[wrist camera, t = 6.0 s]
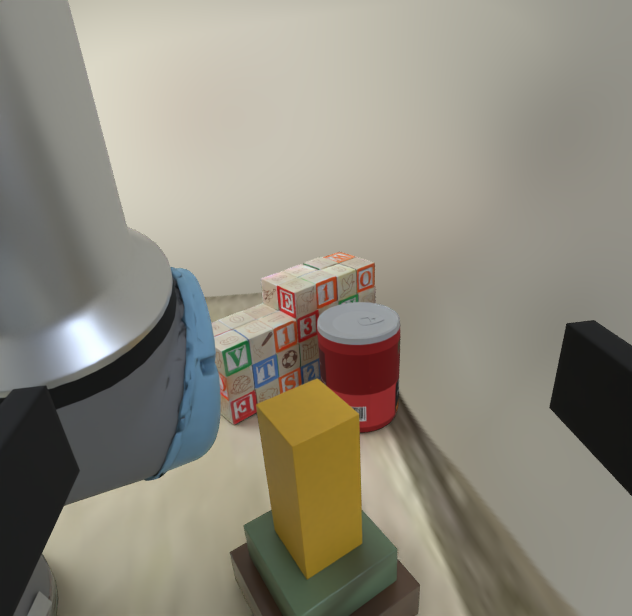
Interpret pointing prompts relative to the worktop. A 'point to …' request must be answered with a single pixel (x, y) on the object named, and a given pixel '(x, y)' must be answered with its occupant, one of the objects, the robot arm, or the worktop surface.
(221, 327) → the stack of blocks
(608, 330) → the robot arm
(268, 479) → the bar
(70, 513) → the worktop surface
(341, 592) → the green brown stepped block
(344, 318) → the canned food
